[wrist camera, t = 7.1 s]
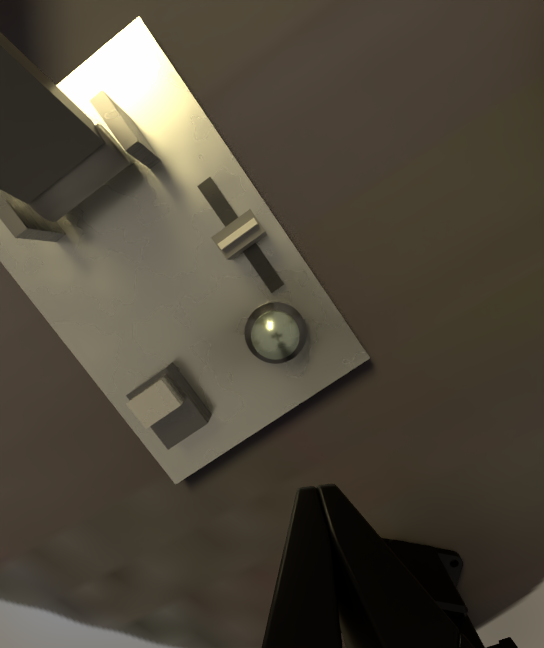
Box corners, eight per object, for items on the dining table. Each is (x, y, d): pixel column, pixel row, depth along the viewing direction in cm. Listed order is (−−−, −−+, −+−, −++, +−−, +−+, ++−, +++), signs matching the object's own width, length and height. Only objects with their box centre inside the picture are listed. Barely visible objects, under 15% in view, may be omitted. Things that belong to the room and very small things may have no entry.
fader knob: (267, 234, 19) (265, 230, 17) (231, 259, 19) (225, 259, 17) (253, 214, 19) (249, 207, 17) (217, 240, 19) (209, 237, 17)
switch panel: (366, 353, 21) (385, 374, 17) (180, 474, 22) (158, 519, 18) (146, 29, 19) (110, -34, 15) (-44, 187, 20) (-124, 168, 16)
